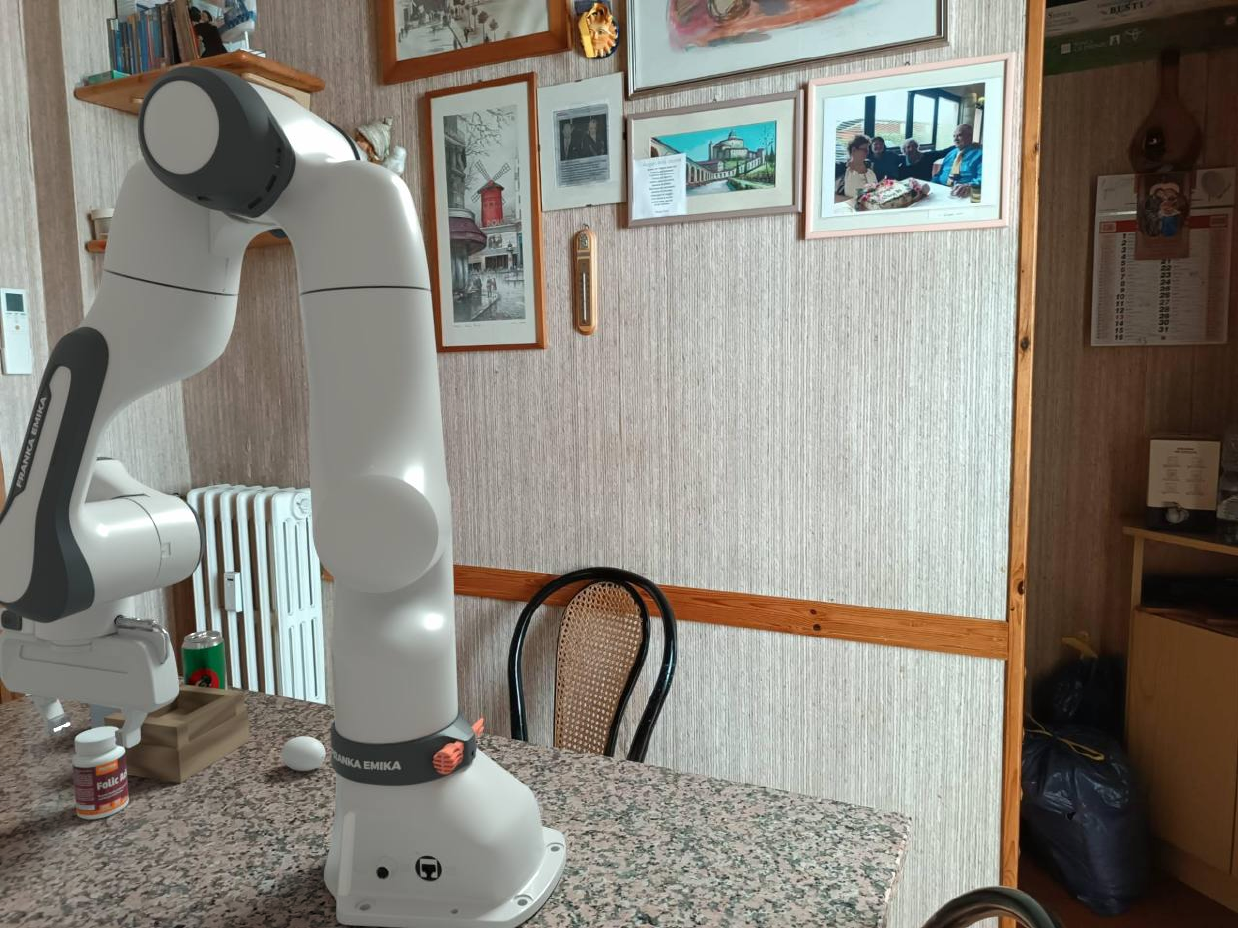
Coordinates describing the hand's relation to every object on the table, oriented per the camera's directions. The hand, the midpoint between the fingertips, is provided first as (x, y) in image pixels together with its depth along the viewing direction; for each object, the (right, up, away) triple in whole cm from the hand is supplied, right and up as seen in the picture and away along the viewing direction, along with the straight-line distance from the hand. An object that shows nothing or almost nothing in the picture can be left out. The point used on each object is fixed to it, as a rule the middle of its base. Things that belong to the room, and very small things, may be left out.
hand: (92, 738), depth 85 cm
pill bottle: (+1, -8, +1) cm, 8 cm away
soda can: (+1, -6, +22) cm, 23 cm away
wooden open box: (+2, -6, +13) cm, 15 cm away
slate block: (-8, -6, +20) cm, 23 cm away
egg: (+19, -7, +9) cm, 22 cm away
